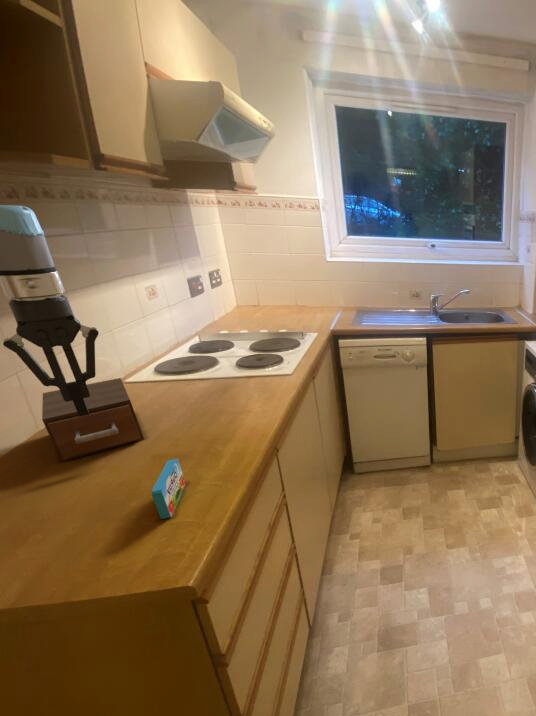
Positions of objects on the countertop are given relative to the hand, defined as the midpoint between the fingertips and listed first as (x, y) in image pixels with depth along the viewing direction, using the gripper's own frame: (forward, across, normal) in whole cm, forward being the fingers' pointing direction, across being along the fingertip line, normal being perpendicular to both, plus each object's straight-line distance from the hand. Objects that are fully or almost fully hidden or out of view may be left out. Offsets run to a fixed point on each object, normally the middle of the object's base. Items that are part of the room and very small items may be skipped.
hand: (83, 413), depth 87 cm
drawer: (+14, +1, +19) cm, 23 cm away
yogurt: (+15, +8, -21) cm, 27 cm away
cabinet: (+15, +1, +23) cm, 27 cm away
